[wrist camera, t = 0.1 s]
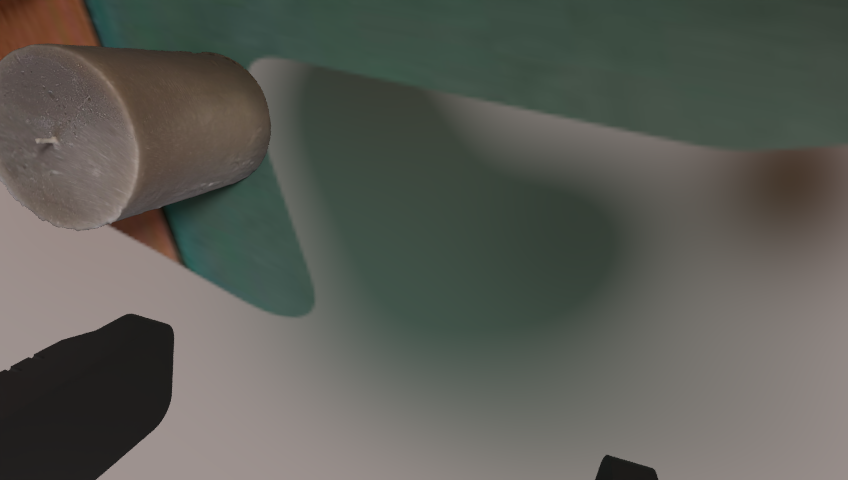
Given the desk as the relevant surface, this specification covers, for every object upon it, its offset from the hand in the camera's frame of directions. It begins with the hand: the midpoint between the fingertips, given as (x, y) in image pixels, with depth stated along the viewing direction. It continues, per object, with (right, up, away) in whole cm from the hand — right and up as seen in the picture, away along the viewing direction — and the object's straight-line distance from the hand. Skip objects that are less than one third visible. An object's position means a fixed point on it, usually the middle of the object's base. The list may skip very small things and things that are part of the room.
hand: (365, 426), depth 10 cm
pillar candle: (-15, +12, +32) cm, 37 cm away
